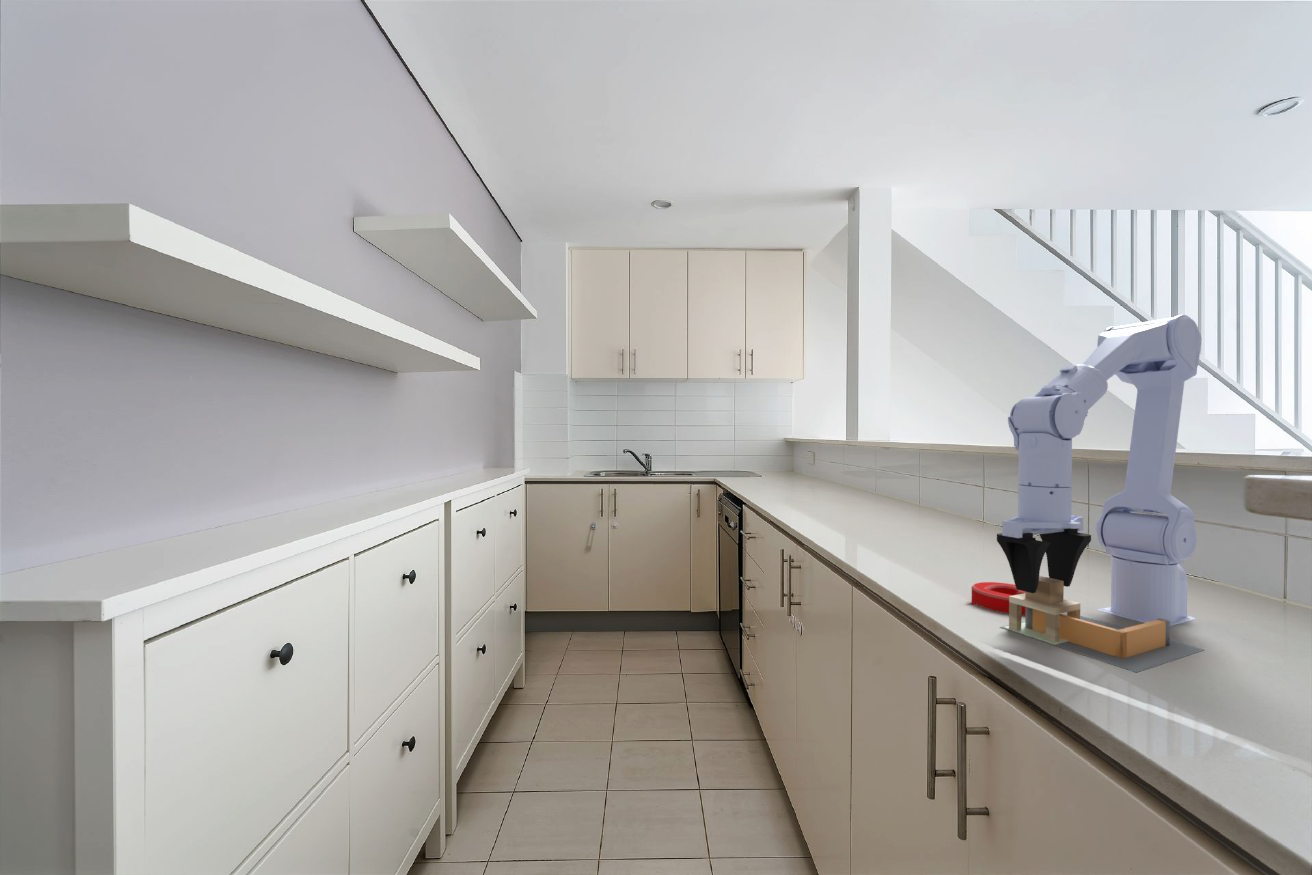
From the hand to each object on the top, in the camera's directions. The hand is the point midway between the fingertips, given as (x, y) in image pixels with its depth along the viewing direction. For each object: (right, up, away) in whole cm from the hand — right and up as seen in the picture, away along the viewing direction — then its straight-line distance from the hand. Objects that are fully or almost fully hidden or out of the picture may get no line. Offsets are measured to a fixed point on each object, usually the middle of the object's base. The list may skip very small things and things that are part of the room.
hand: (1043, 587), depth 70 cm
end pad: (0, -7, 0) cm, 7 cm away
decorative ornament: (+3, -7, +12) cm, 14 cm away
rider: (0, -6, 0) cm, 6 cm away
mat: (+6, -7, -2) cm, 9 cm away
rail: (+6, -6, -1) cm, 8 cm away
